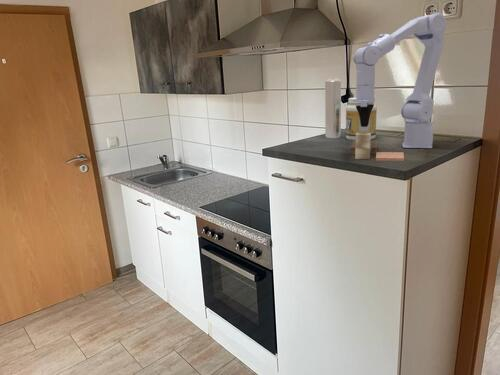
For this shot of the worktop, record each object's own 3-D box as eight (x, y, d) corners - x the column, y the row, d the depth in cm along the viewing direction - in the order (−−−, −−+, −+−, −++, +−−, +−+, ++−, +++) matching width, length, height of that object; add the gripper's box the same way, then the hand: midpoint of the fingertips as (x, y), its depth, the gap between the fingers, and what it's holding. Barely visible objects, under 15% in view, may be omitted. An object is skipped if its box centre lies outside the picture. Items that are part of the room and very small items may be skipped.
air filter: (333, 139, 166) (333, 78, 159) (322, 137, 171) (322, 79, 164) (343, 136, 169) (344, 77, 162) (332, 135, 174) (332, 78, 167)
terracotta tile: (403, 155, 127) (403, 152, 127) (404, 161, 119) (404, 158, 119) (376, 155, 130) (376, 152, 130) (375, 160, 122) (375, 157, 122)
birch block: (370, 156, 129) (370, 132, 127) (369, 159, 125) (370, 134, 123) (356, 156, 131) (356, 132, 128) (355, 159, 126) (355, 134, 124)
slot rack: (377, 147, 143) (377, 140, 142) (376, 155, 130) (376, 147, 130) (353, 147, 146) (353, 140, 145) (350, 154, 133) (350, 147, 132)
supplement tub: (341, 137, 168) (342, 98, 163) (368, 135, 169) (369, 96, 164) (351, 142, 156) (352, 99, 151) (380, 140, 157) (382, 97, 152)
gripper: (354, 84, 135) (354, 123, 139) (351, 86, 122) (350, 129, 126) (375, 83, 133) (374, 123, 137) (374, 85, 120) (373, 129, 124)
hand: (364, 126), depth 131 cm, fingers closed
